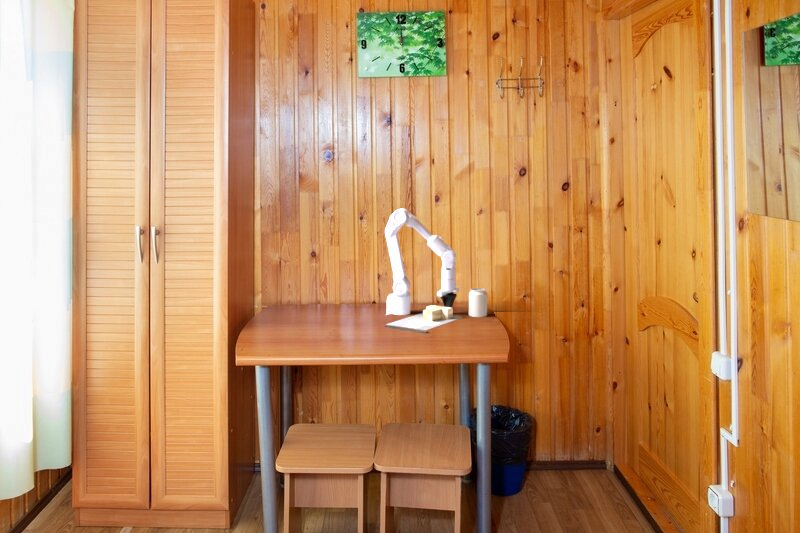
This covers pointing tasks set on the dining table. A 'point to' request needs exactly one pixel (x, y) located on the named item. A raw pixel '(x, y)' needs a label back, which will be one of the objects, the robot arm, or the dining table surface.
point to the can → (478, 302)
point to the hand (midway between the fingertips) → (448, 311)
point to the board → (419, 323)
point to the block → (437, 313)
